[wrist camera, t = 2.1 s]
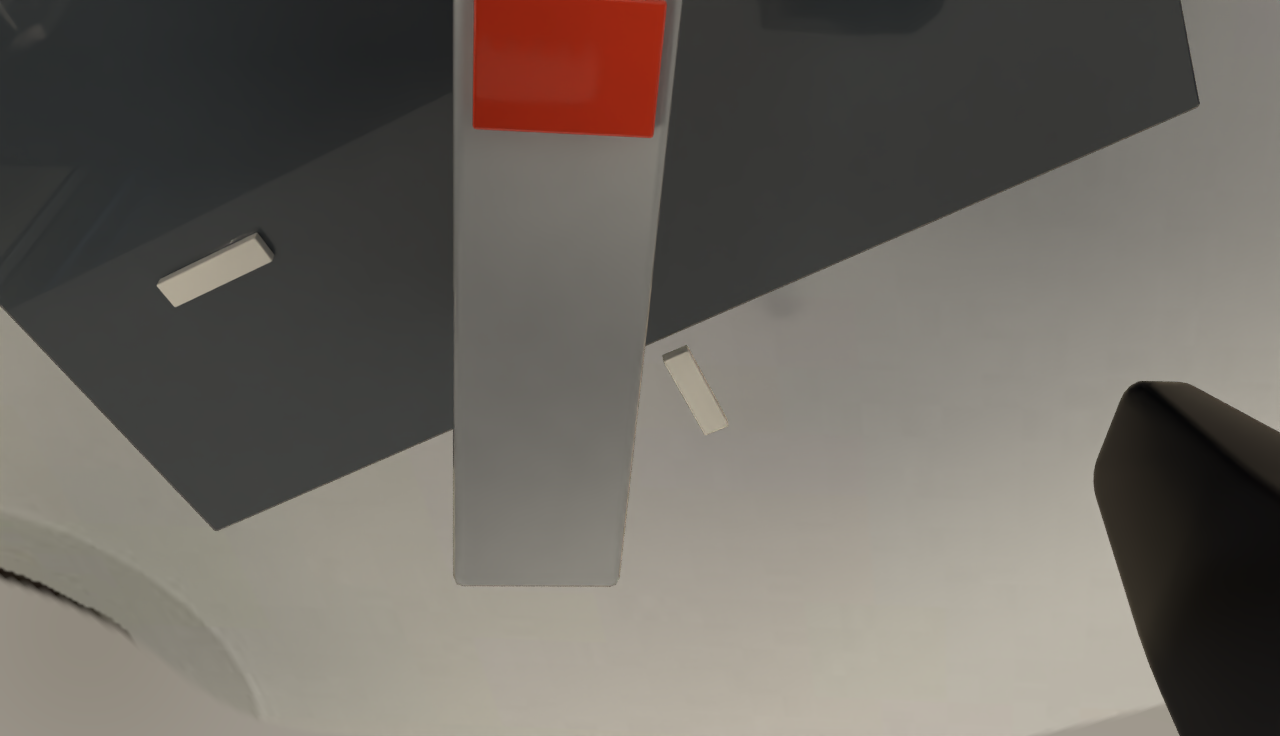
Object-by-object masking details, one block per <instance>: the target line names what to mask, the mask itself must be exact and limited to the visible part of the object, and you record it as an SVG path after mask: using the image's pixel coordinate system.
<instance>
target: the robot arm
mask: <svg viewBox="0 0 1280 736" xmlns="http://www.w3.org/2000/svg"><path fill="white" fill-rule="evenodd" d="M1094 491H1095V495H1096V499H1097V502H1098V505H1099V509H1100V512H1101V515H1102V518H1103V521H1104V525H1105V528H1106V531H1107V534H1108V538H1109V541H1110V544H1111V547H1112V550H1113V554H1114V557H1115V560H1116V563H1117V567H1118V570H1119V573H1120V576H1121V579H1122V583H1123V586H1124V589H1125V592H1126V596H1127V599H1128V602H1129V605H1130V608H1131V612H1132V615H1133V618H1134V621H1135V625H1136V628H1137V631H1138V634H1139V637H1140V640H1141V643H1142V645H1143V648H1144V651H1145V654H1146V657H1147V660H1148V662H1149V665H1150V667H1151V670H1152V672H1153V675H1154V677H1155V680H1156V682H1157V685H1158V687H1159V690H1160V692H1161V694H1162V696H1163V699H1164V701H1165V703H1166V706H1167V708H1168V710H1169V712H1170V715H1171V717H1172V719H1173V722H1174V724H1175V726H1176V728H1177V731H1178V733H1179V735H1180V736H1280V432H1278V431H1276V430H1274V429H1272V428H1270V427H1269V426H1267V425H1265V424H1263V423H1261V422H1259V421H1258V420H1256V419H1254V418H1252V417H1250V416H1248V415H1246V414H1245V413H1243V412H1241V411H1239V410H1237V409H1235V408H1233V407H1232V406H1230V405H1228V404H1226V403H1224V402H1222V401H1220V400H1219V399H1217V398H1215V397H1213V396H1211V395H1209V394H1208V393H1206V392H1204V391H1202V390H1200V389H1198V388H1196V387H1195V386H1193V385H1190V384H1188V383H1183V382H1162V381H1139V382H1137V383H1135V384H1133V385H1131V386H1130V387H1129V388H1128V389H1127V390H1126V391H1125V392H1124V394H1123V396H1122V398H1121V400H1120V402H1119V405H1118V407H1117V410H1116V413H1115V415H1114V418H1113V420H1112V423H1111V425H1110V428H1109V430H1108V433H1107V435H1106V438H1105V440H1104V443H1103V445H1102V448H1101V450H1100V453H1099V455H1098V458H1097V461H1096V464H1095V469H1094Z"/></svg>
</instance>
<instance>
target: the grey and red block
mask: <svg viewBox="0 0 1280 736" xmlns="http://www.w3.org/2000/svg"><path fill="white" fill-rule="evenodd" d="M682 8H683V0H453V577H454V579H455V581H456V583H457V584H458V585H461V586H557V587H611V586H614V585H616V583H617V582H618V580H619V578H620V570H621V561H622V552H623V543H624V534H625V525H626V516H627V507H628V498H629V489H630V479H631V470H632V461H633V452H634V443H635V434H636V425H637V416H638V407H639V398H640V389H641V380H642V371H643V362H644V353H645V343H646V334H647V325H648V316H649V307H650V298H651V289H652V280H653V271H654V262H655V253H656V244H657V235H658V226H659V217H660V207H661V198H662V189H663V180H664V171H665V162H666V153H667V144H668V135H669V126H670V117H671V108H672V99H673V90H674V81H675V71H676V62H677V53H678V44H679V35H680V26H681V17H682Z"/></svg>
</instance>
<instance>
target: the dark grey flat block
mask: <svg viewBox="0 0 1280 736" xmlns="http://www.w3.org/2000/svg"><path fill="white" fill-rule="evenodd" d="M1199 104H1200V102H1199V97H1198V91H1197V86H1196V81H1195V75H1194V70H1193V65H1192V59H1191V54H1190V48H1189V43H1188V38H1187V32H1186V27H1185V22H1184V16H1183V11H1182V6H1181V0H683V8H682V17H681V26H680V35H679V44H678V53H677V62H676V71H675V81H674V90H673V99H672V108H671V117H670V126H669V135H668V144H667V153H666V162H665V171H664V180H663V189H662V198H661V207H660V217H659V226H658V235H657V244H656V253H655V262H654V271H653V280H652V289H651V298H650V307H649V316H648V325H647V334H646V343H645V346H647V345H649V344H651V343H654V342H656V341H658V340H661V339H663V338H665V337H668V336H670V335H672V334H674V333H677V332H679V331H681V330H684V329H686V328H688V327H691V326H693V325H695V324H698V323H700V322H702V321H705V320H707V319H709V318H711V317H714V316H716V315H718V314H721V313H723V312H725V311H728V310H730V309H732V308H735V307H737V306H739V305H742V304H744V303H746V302H748V301H751V300H753V299H755V298H758V297H760V296H762V295H765V294H767V293H769V292H772V291H774V290H776V289H779V288H781V287H783V286H786V285H788V284H790V283H792V282H795V281H797V280H799V279H802V278H804V277H806V276H809V275H811V274H813V273H816V272H818V271H820V270H823V269H825V268H827V267H829V266H832V265H834V264H836V263H839V262H841V261H843V260H846V259H848V258H850V257H853V256H855V255H857V254H860V253H862V252H864V251H866V250H869V249H871V248H873V247H876V246H878V245H880V244H883V243H885V242H887V241H890V240H892V239H894V238H897V237H899V236H901V235H904V234H906V233H908V232H910V231H913V230H915V229H917V228H920V227H922V226H924V225H927V224H929V223H931V222H934V221H936V220H938V219H941V218H943V217H945V216H947V215H950V214H952V213H954V212H957V211H959V210H961V209H964V208H966V207H968V206H971V205H973V204H975V203H978V202H980V201H982V200H985V199H987V198H989V197H991V196H994V195H996V194H998V193H1001V192H1003V191H1005V190H1008V189H1010V188H1012V187H1015V186H1017V185H1019V184H1022V183H1024V182H1026V181H1028V180H1031V179H1033V178H1035V177H1038V176H1040V175H1042V174H1045V173H1047V172H1049V171H1052V170H1054V169H1056V168H1059V167H1061V166H1063V165H1065V164H1068V163H1070V162H1072V161H1075V160H1077V159H1079V158H1082V157H1084V156H1086V155H1089V154H1091V153H1093V152H1096V151H1098V150H1100V149H1103V148H1105V147H1107V146H1109V145H1112V144H1114V143H1116V142H1119V141H1121V140H1123V139H1126V138H1128V137H1130V136H1133V135H1135V134H1137V133H1140V132H1142V131H1144V130H1146V129H1149V128H1151V127H1153V126H1156V125H1158V124H1160V123H1163V122H1165V121H1167V120H1170V119H1172V118H1174V117H1177V116H1179V115H1181V114H1184V113H1186V112H1188V111H1190V110H1193V109H1195V108H1197V107H1198V106H1199ZM0 306H1V307H2V308H3V309H4V310H5V311H6V312H7V313H8V314H9V316H10V317H11V318H12V319H13V320H14V321H15V322H16V323H17V324H18V325H19V326H20V327H21V328H22V329H23V330H24V331H25V332H26V333H27V334H28V335H29V336H30V338H31V339H32V340H33V341H34V342H35V343H36V344H37V345H38V346H39V347H40V348H41V349H42V350H43V351H44V352H45V353H46V354H47V355H48V356H49V357H50V359H51V360H52V361H53V362H54V363H55V364H56V365H57V366H58V367H59V368H60V369H61V370H62V371H63V372H64V373H65V374H66V375H67V376H68V377H69V378H70V380H71V381H72V382H73V383H74V384H75V385H76V386H77V387H78V388H79V389H80V390H81V391H82V392H83V393H84V394H85V395H86V396H87V397H88V398H89V399H90V400H91V402H92V403H93V404H94V405H95V406H96V407H97V408H98V409H99V410H100V411H101V412H102V413H103V414H104V415H105V416H106V417H107V418H108V419H109V420H110V421H111V423H112V424H113V425H114V426H115V427H116V428H117V429H118V430H119V431H120V432H121V433H122V434H123V435H124V436H125V437H126V438H127V439H128V440H129V441H130V442H131V444H132V445H133V446H134V447H135V448H136V449H137V450H138V451H139V452H140V453H141V454H142V455H143V456H144V457H145V458H146V459H147V460H148V461H149V462H150V463H151V464H152V466H153V467H154V468H155V469H156V470H157V471H158V472H159V473H160V474H161V475H162V476H163V477H164V478H165V479H166V480H167V481H168V482H169V483H170V484H171V485H172V487H173V488H174V489H175V490H176V491H177V492H178V493H179V494H180V495H181V496H182V497H183V498H184V499H185V500H186V501H187V502H188V503H189V504H190V505H191V506H192V508H193V509H194V510H195V511H196V512H197V513H198V514H199V515H200V516H201V517H202V518H203V519H204V520H205V521H206V522H207V523H208V524H209V525H210V526H211V527H212V528H213V530H215V531H219V530H221V529H223V528H226V527H228V526H230V525H232V524H235V523H237V522H239V521H242V520H244V519H246V518H249V517H251V516H253V515H256V514H258V513H260V512H263V511H265V510H267V509H270V508H272V507H274V506H276V505H279V504H281V503H283V502H286V501H288V500H290V499H293V498H295V497H297V496H300V495H302V494H304V493H307V492H309V491H311V490H313V489H316V488H318V487H320V486H323V485H325V484H327V483H330V482H332V481H334V480H337V479H339V478H341V477H344V476H346V475H348V474H351V473H353V472H355V471H357V470H360V469H362V468H364V467H367V466H369V465H371V464H374V463H376V462H378V461H381V460H383V459H385V458H388V457H390V456H392V455H394V454H397V453H399V452H401V451H404V450H406V449H408V448H411V447H413V446H415V445H418V444H420V443H422V442H425V441H427V440H429V439H431V438H434V437H436V436H438V435H441V434H443V433H445V432H448V431H450V430H452V429H453V0H0ZM663 362H664V364H665V365H666V367H667V369H668V371H669V373H670V374H671V376H672V378H673V380H674V381H675V383H676V385H677V387H678V389H679V390H680V392H681V394H682V396H683V397H684V399H685V401H686V403H687V405H688V406H689V408H690V410H691V412H692V414H693V415H694V417H695V419H696V421H697V422H698V424H699V426H700V428H701V430H702V431H703V433H704V435H708V434H710V433H713V432H715V431H718V430H720V429H723V428H725V427H727V426H728V420H727V418H726V416H725V414H724V412H723V410H722V409H721V407H720V405H719V403H718V401H717V399H716V397H715V396H714V394H713V392H712V390H711V388H710V386H709V384H708V383H707V381H706V379H705V377H704V375H703V373H702V372H701V370H700V368H699V366H698V364H697V362H696V360H695V359H694V357H693V355H692V353H691V351H690V349H689V347H688V346H687V345H685V346H683V347H681V348H678V349H676V350H674V351H671V352H669V353H667V354H664V355H663Z"/></svg>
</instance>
